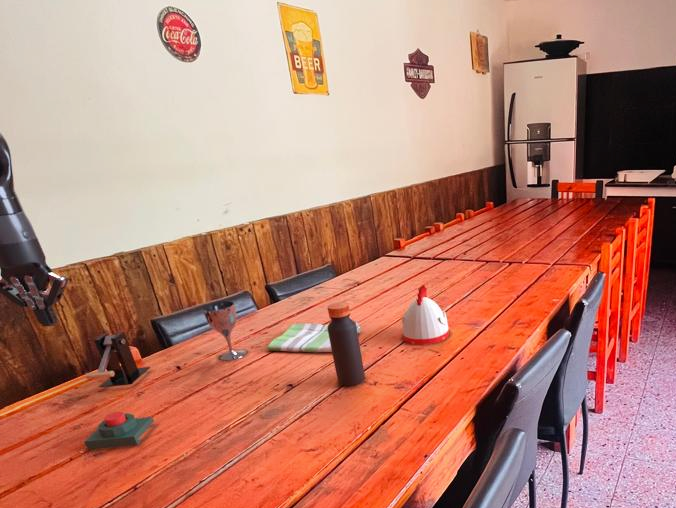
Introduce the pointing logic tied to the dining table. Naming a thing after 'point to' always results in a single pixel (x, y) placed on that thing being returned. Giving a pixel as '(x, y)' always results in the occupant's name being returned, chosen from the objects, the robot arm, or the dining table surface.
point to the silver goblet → (223, 324)
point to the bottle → (345, 345)
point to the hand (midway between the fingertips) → (50, 325)
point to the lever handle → (104, 361)
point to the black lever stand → (126, 360)
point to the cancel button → (115, 419)
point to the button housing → (119, 433)
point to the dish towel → (304, 339)
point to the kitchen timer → (424, 321)
